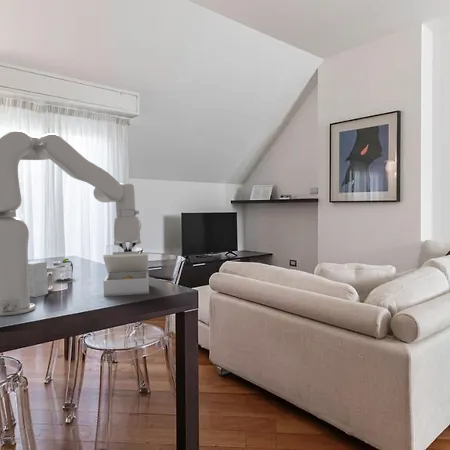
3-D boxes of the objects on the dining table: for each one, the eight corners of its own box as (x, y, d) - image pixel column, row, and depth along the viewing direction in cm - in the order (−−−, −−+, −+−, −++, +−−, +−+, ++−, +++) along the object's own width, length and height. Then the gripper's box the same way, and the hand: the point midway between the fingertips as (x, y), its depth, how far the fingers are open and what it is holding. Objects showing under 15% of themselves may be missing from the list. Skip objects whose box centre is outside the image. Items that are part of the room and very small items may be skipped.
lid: (148, 255, 154) (147, 250, 155) (103, 257, 151) (103, 252, 152) (148, 271, 169) (148, 267, 170) (107, 273, 166) (108, 269, 167)
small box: (48, 294, 156) (47, 261, 155) (35, 297, 150) (33, 264, 149) (34, 292, 159) (32, 260, 158) (20, 296, 153) (18, 263, 152)
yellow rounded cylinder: (131, 291, 154) (132, 281, 154) (121, 291, 153) (121, 281, 153) (132, 285, 166) (133, 276, 165) (123, 285, 165) (123, 276, 165)
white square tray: (149, 293, 153) (148, 278, 152) (104, 296, 149) (103, 280, 149) (148, 285, 169) (148, 271, 169) (108, 287, 166) (107, 273, 166)
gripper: (144, 213, 163) (147, 256, 164) (107, 214, 160) (110, 258, 161) (144, 213, 156) (147, 259, 157) (105, 215, 153) (108, 261, 154)
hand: (128, 258), depth 159 cm, fingers closed
